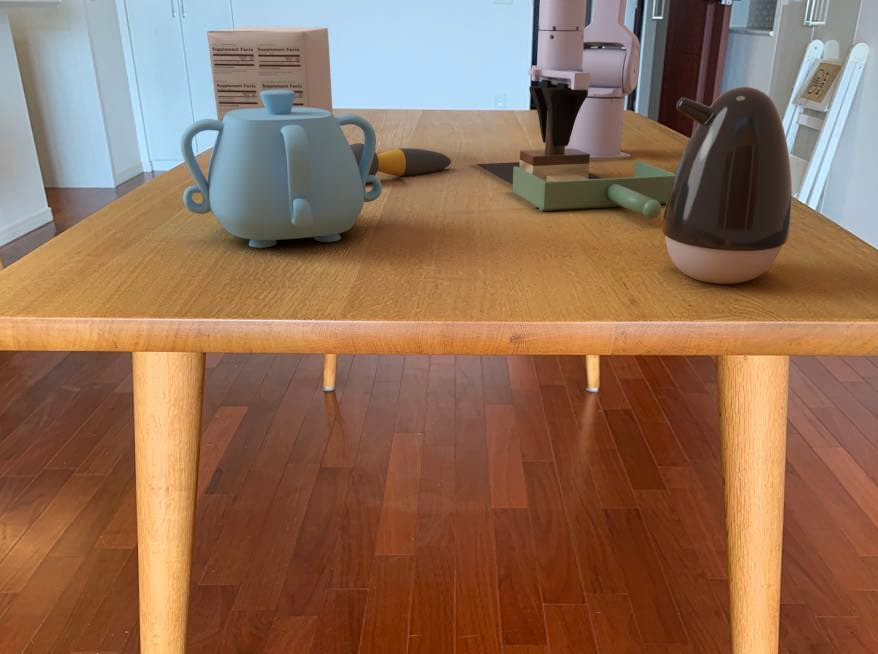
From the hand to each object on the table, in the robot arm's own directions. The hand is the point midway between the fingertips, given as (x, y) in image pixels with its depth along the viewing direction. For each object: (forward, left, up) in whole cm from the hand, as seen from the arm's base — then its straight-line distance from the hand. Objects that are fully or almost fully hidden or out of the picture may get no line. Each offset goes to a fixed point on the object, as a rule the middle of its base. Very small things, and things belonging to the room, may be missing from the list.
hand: (555, 144), depth 107 cm
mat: (-4, 0, -5) cm, 6 cm away
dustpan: (+18, 0, -5) cm, 18 cm away
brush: (0, 0, -4) cm, 4 cm away
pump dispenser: (+44, -3, -5) cm, 45 cm away
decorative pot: (+20, -37, -5) cm, 43 cm away
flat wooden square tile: (+5, 0, -4) cm, 6 cm away
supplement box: (-23, -34, -5) cm, 41 cm away
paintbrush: (-7, -21, -5) cm, 23 cm away
